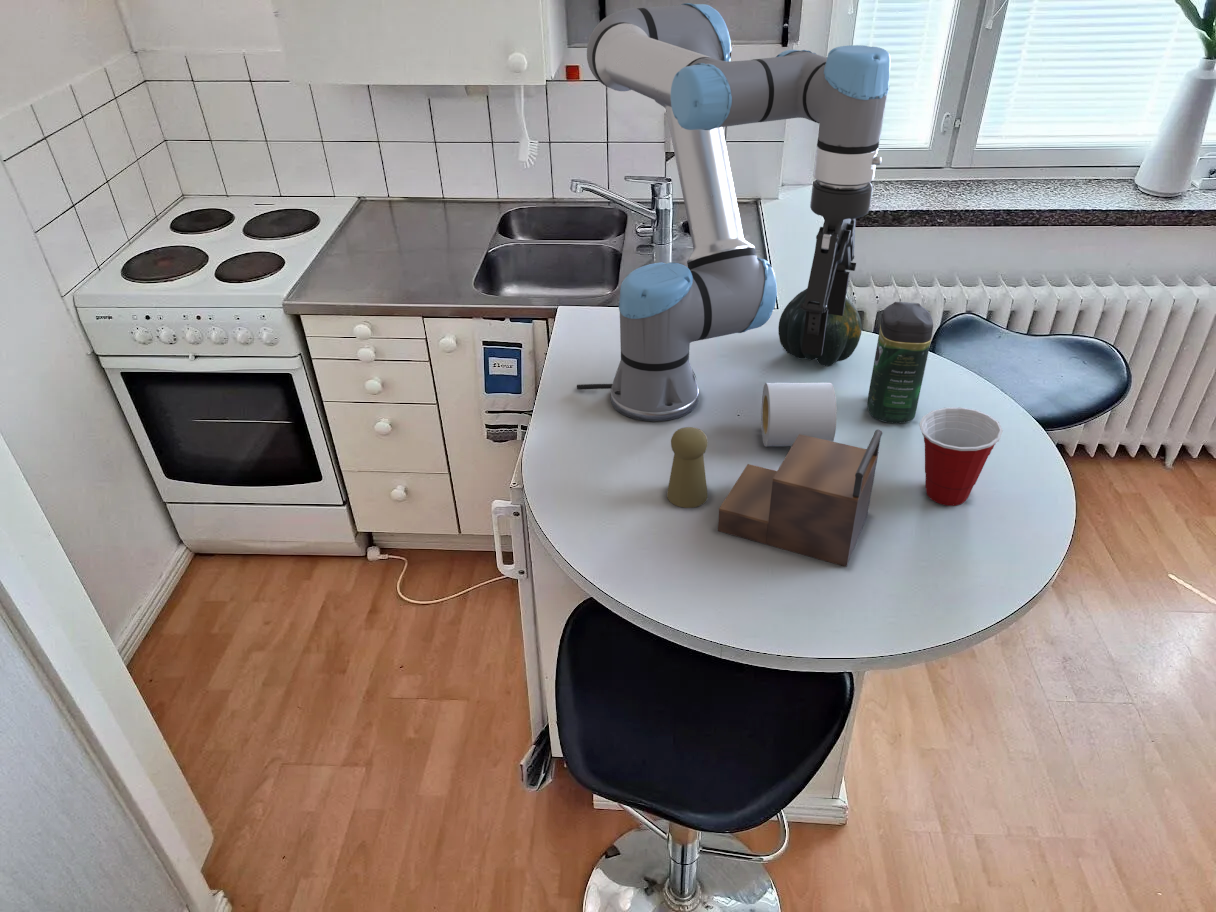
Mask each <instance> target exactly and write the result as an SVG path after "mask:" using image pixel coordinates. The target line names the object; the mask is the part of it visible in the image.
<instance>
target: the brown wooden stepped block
mask: <svg viewBox="0 0 1216 912" xmlns="http://www.w3.org/2000/svg"><path fill="white" fill-rule="evenodd" d="M882 436H883V431H882V430H881V429H875V430H874V433H873V434H872V437H871V439H870V441H869V443H868V445H867V448H863V447H858V446H854V445H850V444H845V443H841V442H837V441H833V442H832V441H828V440H823V439H819V438H815V437H810V436H806V435H801V434H799V435H798V437H797V438H796V440H795V442H794V443H793V445H792V446H790V448H789V450H788V452H787V453H786V455H785V457H784V459H783V461H782V462H781V464H780V466H779V467H778V468H777V470H774V469H772V468H771V469H770V468H766V467H762V466H758V465H754V464H750V463H747V464H746V466H745V467H744V469H743V471H742V472H741V473H740V475H739V477H738V478H737V480H736V482H735V483H734V485H733V486H732V488H731V489H730V491H729V492H728V494H727V495H726V496H725V498H724V500H723V502H722V503H721V505H720V506H719V508H718V525H717V531H718V532H719V533H723V534H727V535H731V536H735V537H738V538H742V539H745V540H748V541H753V542H755V543H756V542H757V543H759V544H763V545H766V546H769V547H773V548H777V549H781V550H785V551H788V552H791V553H795V554H798V555H802V556H806V557H810V558H813V559H815V560H819V561H820V560H821V561H825V562H828V563H830V564H834V565H838V566H842V567H845V568H847V567H848V564H849V562H850V560H851V557H852V555H853V552H854V550H855V548H856V546H857V543H858V540H859V538H860V536H861V533H862V530H863V527H864V525H865V523H866V520H867V518H868V514H869V509H870V503H871V498H872V492H873V486H874V482H875V481H874V480H875V475H876V470H877V463H878V458H879V453H880V452H879V450H880V446H881V445H880V444H881V439H882Z"/></svg>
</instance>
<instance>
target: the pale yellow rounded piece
mask: <svg viewBox="0 0 1216 912" xmlns="http://www.w3.org/2000/svg"><path fill="white" fill-rule="evenodd" d="M708 444H709V442H708V437H707V435H706V433H705V431H703V430H702V429H700V428H697V427H693V426H692V427H691V426H686V427H681V428H678V429H677V430H675V431H674V433H673V434H672V436H671V439H670V447H671V451H672V452H673V458H672V465H671V470H670V476H669V481H668V487H667V492H666V498H667V500H668V501H669V502H670V503H671V504H672V505H674V506H676V507H678V508H684V509H693V508H699V507H700V506H702V505H704V504H705V503H706V502H707V501H708V498H709V495H708V485H707V475H706V467H705V459H704V458H705V457H704V454H706V451H707V449H708Z"/></svg>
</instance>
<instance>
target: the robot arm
mask: <svg viewBox="0 0 1216 912" xmlns="http://www.w3.org/2000/svg"><path fill="white" fill-rule="evenodd" d="M731 52H732V41H731V37H730V33H729V29H728V27H727V24H726V22H725V19H724V18H723V16H722V14H721V13H720V12H719V11H718V10H717V9H715V8H714V7H712V6H711V5H709V4H707V3H706V4H705V3H691V2H685V3H684V2H683V3H681V4H675V5H673V4H672V5H661V6H660V5H659V6H648V7H637V8H636V7H630V8H624V9H620V10H617V11H615V12H613V13H611V14H609V15H607V16H606V17H604V18H603V19H601V21H600V22H599V23H598V24H597V25H596V26H595V27H594V29H593V31H592V32H591V34H590V35H589V39H588V42H587V46H586V60H587V65H588V68H589V70H590V72H591V74H592V75H593V77H594V78H595V79H596V80H597V81H598V82H599V83H600V84H602V85H603V86H605V87H607V88H609V89H611V90H613V91H618V92H628V91H633V92H636V93H638V94H640V95H642V96H645V97H647V98H649V99H652V100H654V101H655V103H656V104H658V105H659V106H661V107H662V108H664V109H665V113H666V117H667V123H668V128H669V132H670V139H671V144H672V148H673V153H674V158H675V162H676V168H677V173H678V178H679V183H680V189H681V193H682V194H681V195H682V198H683V203H684V208H685V215H686V219H687V223H688V228H689V233H690V239H691V244H692V253H691V254H690V256H689V258H688V259H687V261H686V265H687V266H686V265H684V264H682V263H678V262H671V261H669V262H667V263H665V262H664V261H660V262H654V263H653V262H652V263H649V264H645V265H643V266H639V267H637V268H636V269H633V270H631V272H629V273H628V274H627V275H626V277H625V278H624V279H623V280H622V282H621V284H620V288H619V289H620V291H619V302H618V311H619V332H620V334H619V337H620V341H619V342H620V361H619V364H618V367H617V370H616V373H615V375H614V378H613V381H612V383H587V384H586V383H583V384H581V383H580V384H576V390H610V403H611V405H612V406H613V408H614V409H615V410H616V411H617V412H618V413H620V414H621V415H624V416H626V417H628V418H631V419H635V420H638V421H644V422H645V421H646V422H664V421H671V420H676V419H679V418H682V417H684V416H686V415H688V414H690V413H691V412H692V411H694V410H695V409H696V408H697V406H698V404H699V393H700V392H699V387H698V383H697V377H696V376H697V375H696V374H695V372H694V369H693V367H692V365H691V362H690V345H691V343H695V342H699V341H703V340H708V339H713V338H719V337H723V336H729V335H733V334H742V333H745V332H748V331H750V330H754V329H758V328H761V327H763V326H764V325H765V324H767V322H768V321H769V320H770V318H771V316H772V315H773V311H774V310H775V306H776V302H777V294H778V288H777V287H778V286H777V278H776V275H775V271H774V268H773V267H772V266H771V264H770V263H769V261H768V260H766V259H765V258H761V257H758V256H757V252H756V247H755V245H754V244H752V243H751V242H749V241H747V240H746V239H745V238H744V231H743V227H742V221H741V216H740V211H739V207H738V202H737V196H736V192H735V186H734V180H733V174H732V171H731V166H730V160H729V155H728V148H727V144H726V138H725V133H724V128H727V127H734V126H742V125H747V124H756V123H767V122H774V121H775V122H776V121H782V120H790V119H806V120H809V121H811V122H814V123H816V124H818V134H817V142H816V148H815V155H814V164H813V172H812V173H813V174H812V175H813V178H814V179H815V180H814V181H813V182H812V186H811V195H810V202H809V203H810V204H809V207H810V210H811V212H812V213H814V214H815V215H817V216H820V217H822V218H823V219H824V221H823V223H822V224H823V225H822V226H820V227H819V229H818V232H817V234H816V235H815V239H816V241H815V248H814V253H813V259H812V263H811V268H810V272H809V278H808V283H807V288H806V289H807V292H806V297H805V302H804V303H801V305H800V309H803V310H804V311H806V317H805V325H804V334H803V342H802V351H801V353H807V354H813V355H818V356H821V355H822V353H823V346H824V338H825V331H826V323H827V316H828V314H833V315H839V316H843V314H844V307H845V300H846V298H847V292H848V287H849V286H848V285H849V280H850V279H849V278H850V271H852V272H855V271H856V267H857V262H853V261H854V259H855V245H856V244H855V242H856V241H855V240H856V239H855V238H856V223H857V220H856V219H859V218H862V217H864V216H865V217H866V216H867V214H868V213H869V212H870V209H871V204H872V196H873V189H874V186H873V185H872V183H871V182H873V181H874V178H875V173H876V166H880V165H881V164H882V163H883V159H882V156H877V154H878V153H879V152H878V151H879V147H880V141H881V135H882V129H883V123H884V117H885V112H886V105H887V99H888V93H889V92H890V74H891V73H890V72H891V63H892V62H891V61H892V60H891V59H892V58H891V55H890V52H889V51H887V50H886V49H884V48H882V47H878V46H871V45H870V46H869V45H863V44H860V45H858V44H853V45H840V46H835V47H833V48H831V50H829V52H828V53H827V56H824V55H820V54H817V53H816V52H812V51H811V50H807V49H802V50H800V49H787V50H784V51H782V52H780V53H778V54H777V55H776V56H773V57H764V58H753V59H747V60H734V61H733V60H731V59H732V57H731V55H730V53H731ZM814 301H817V302H814Z"/></svg>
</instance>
